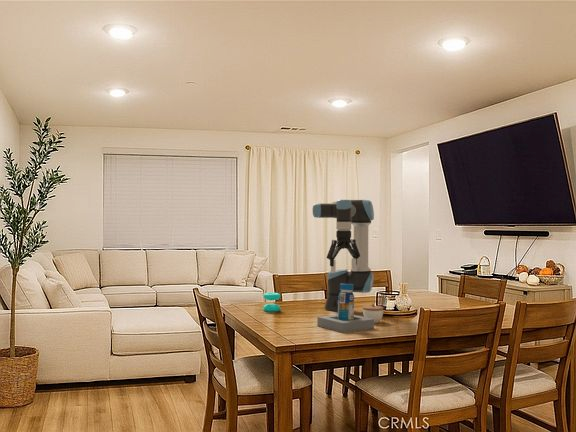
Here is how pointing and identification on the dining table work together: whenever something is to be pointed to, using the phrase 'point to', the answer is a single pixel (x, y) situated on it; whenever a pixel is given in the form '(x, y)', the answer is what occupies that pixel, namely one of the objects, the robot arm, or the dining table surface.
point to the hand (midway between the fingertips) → (343, 272)
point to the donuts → (271, 306)
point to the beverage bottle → (346, 303)
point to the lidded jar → (373, 312)
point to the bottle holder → (345, 323)
